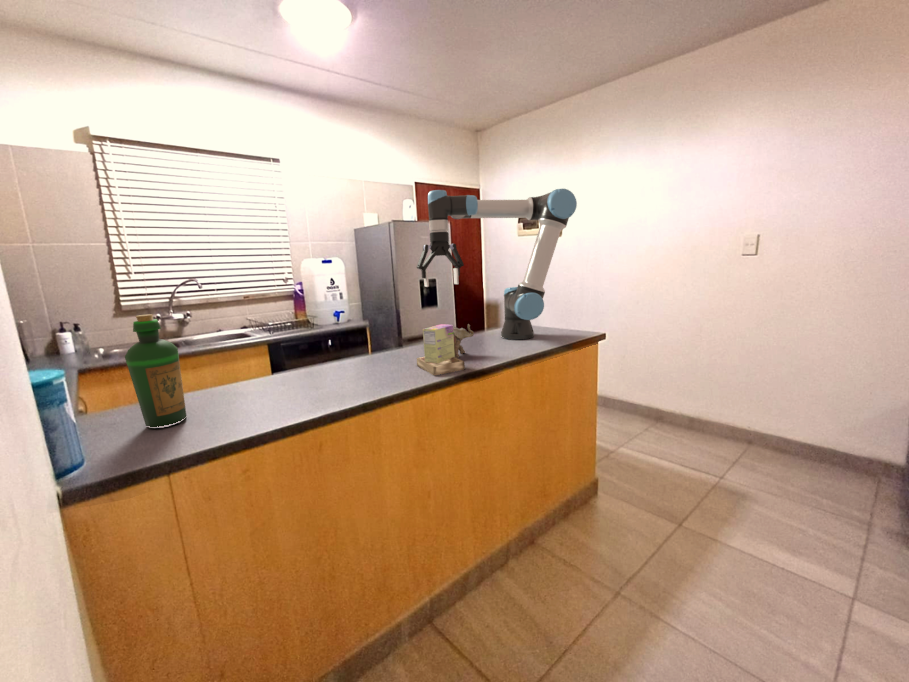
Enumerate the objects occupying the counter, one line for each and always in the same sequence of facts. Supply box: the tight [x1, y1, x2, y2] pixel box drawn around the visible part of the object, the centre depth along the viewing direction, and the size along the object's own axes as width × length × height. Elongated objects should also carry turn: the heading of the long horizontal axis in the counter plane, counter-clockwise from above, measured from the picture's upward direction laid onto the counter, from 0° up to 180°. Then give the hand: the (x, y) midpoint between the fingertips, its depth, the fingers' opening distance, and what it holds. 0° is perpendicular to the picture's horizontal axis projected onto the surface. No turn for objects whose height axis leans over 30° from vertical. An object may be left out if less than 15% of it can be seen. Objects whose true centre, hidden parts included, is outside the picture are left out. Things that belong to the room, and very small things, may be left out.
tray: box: [416, 356, 466, 377], centre depth 140 cm, size 12×15×3 cm
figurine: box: [453, 323, 474, 359], centre depth 154 cm, size 10×14×15 cm, turn 88°
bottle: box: [124, 313, 187, 427], centre depth 99 cm, size 11×11×28 cm
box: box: [422, 323, 455, 364], centre depth 138 cm, size 10×6×12 cm, turn 145°
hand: (441, 285), depth 163 cm, fingers open, 13 cm apart
